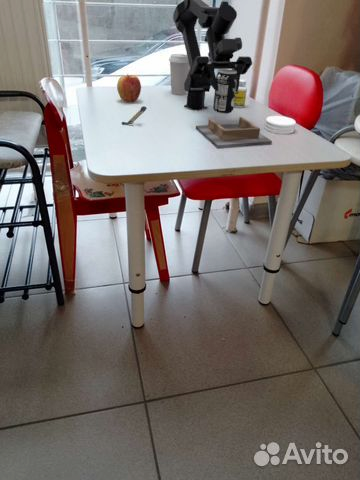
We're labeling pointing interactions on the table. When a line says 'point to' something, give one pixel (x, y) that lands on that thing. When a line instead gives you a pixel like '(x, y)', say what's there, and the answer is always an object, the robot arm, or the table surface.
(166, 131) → the table surface
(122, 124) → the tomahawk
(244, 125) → the loading bay
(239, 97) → the supplement bottle
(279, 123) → the white ridged disc
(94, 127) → the table surface
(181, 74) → the coffee cup
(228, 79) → the beverage can
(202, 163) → the table surface
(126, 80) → the apple
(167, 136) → the table surface
